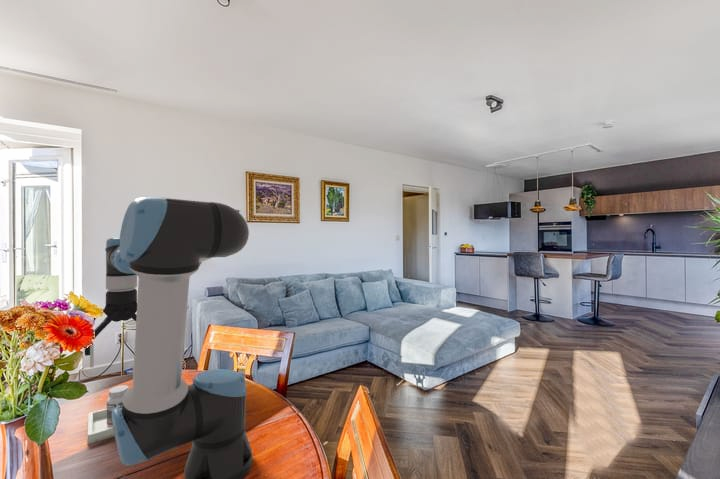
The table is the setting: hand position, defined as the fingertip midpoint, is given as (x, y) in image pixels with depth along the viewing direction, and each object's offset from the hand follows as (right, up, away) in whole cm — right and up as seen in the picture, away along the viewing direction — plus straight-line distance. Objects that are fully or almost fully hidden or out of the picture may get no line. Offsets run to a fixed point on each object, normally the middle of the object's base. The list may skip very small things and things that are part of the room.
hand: (121, 360), depth 96 cm
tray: (-1, -19, 0) cm, 19 cm away
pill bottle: (-1, -19, 0) cm, 19 cm away
